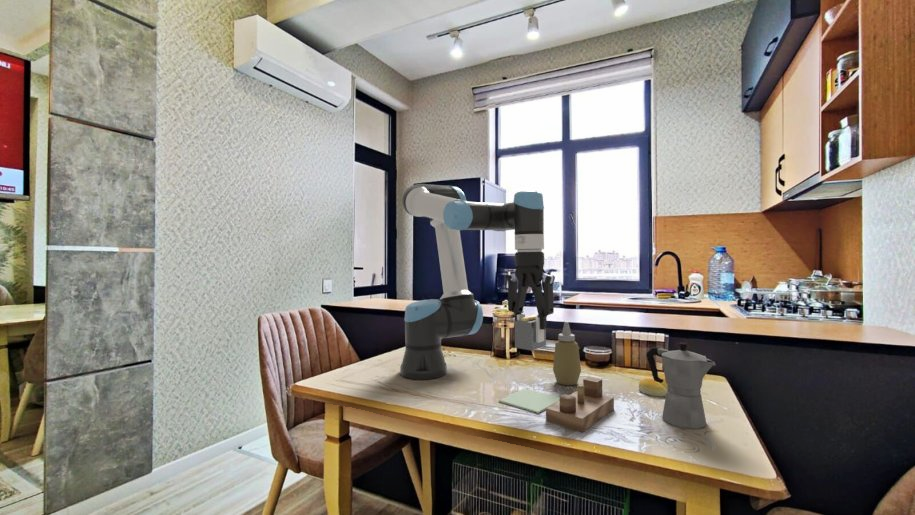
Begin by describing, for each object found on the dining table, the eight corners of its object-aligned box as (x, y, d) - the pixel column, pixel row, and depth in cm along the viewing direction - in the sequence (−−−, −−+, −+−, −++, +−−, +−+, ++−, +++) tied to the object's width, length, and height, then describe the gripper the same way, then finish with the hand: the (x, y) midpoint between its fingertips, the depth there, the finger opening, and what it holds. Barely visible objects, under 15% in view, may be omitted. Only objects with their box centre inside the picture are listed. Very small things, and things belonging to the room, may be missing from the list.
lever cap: (515, 347, 106) (514, 317, 106) (529, 342, 111) (529, 314, 111) (531, 350, 102) (531, 319, 102) (546, 345, 108) (545, 316, 107)
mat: (498, 401, 107) (498, 399, 107) (524, 389, 116) (524, 388, 116) (538, 413, 99) (538, 411, 99) (563, 400, 107) (563, 398, 107)
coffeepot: (724, 425, 91) (724, 344, 90) (704, 436, 85) (704, 351, 85) (657, 404, 103) (656, 333, 103) (636, 413, 98) (635, 338, 98)
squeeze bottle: (582, 387, 117) (581, 325, 116) (553, 386, 118) (552, 324, 118) (579, 379, 124) (579, 320, 124) (552, 377, 126) (552, 319, 126)
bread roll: (632, 388, 116) (632, 374, 116) (661, 386, 118) (661, 372, 117) (651, 399, 108) (651, 383, 108) (681, 396, 109) (681, 381, 109)
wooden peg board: (582, 432, 88) (582, 400, 88) (545, 421, 94) (545, 390, 94) (614, 409, 101) (613, 381, 101) (579, 400, 107) (579, 374, 107)
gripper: (493, 251, 110) (494, 337, 110) (552, 250, 98) (554, 347, 98) (509, 251, 115) (510, 333, 116) (568, 250, 103) (569, 342, 103)
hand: (530, 339), depth 107 cm, fingers closed on lever cap, 5 cm apart
